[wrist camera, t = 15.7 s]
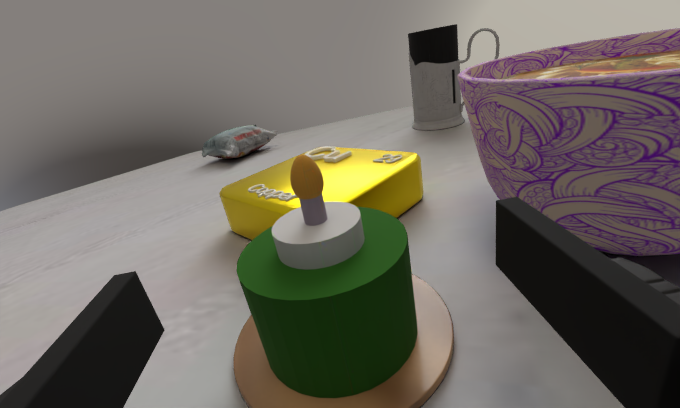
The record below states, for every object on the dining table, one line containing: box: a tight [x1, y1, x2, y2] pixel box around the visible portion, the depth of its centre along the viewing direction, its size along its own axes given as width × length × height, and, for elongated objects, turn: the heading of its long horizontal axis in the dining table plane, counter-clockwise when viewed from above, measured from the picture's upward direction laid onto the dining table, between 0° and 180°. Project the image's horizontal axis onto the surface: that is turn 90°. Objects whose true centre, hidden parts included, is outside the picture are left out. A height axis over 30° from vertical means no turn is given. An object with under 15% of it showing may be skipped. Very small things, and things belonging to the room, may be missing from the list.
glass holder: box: [408, 25, 499, 130], centre depth 56 cm, size 9×14×15 cm, turn 57°
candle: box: [237, 155, 418, 398], centre depth 17 cm, size 8×8×10 cm
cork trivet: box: [234, 274, 454, 408], centre depth 19 cm, size 12×12×1 cm
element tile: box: [220, 146, 423, 240], centre depth 34 cm, size 15×15×5 cm
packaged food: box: [202, 125, 277, 159], centre depth 64 cm, size 9×12×5 cm
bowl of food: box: [457, 28, 680, 256], centre depth 22 cm, size 20×20×12 cm
